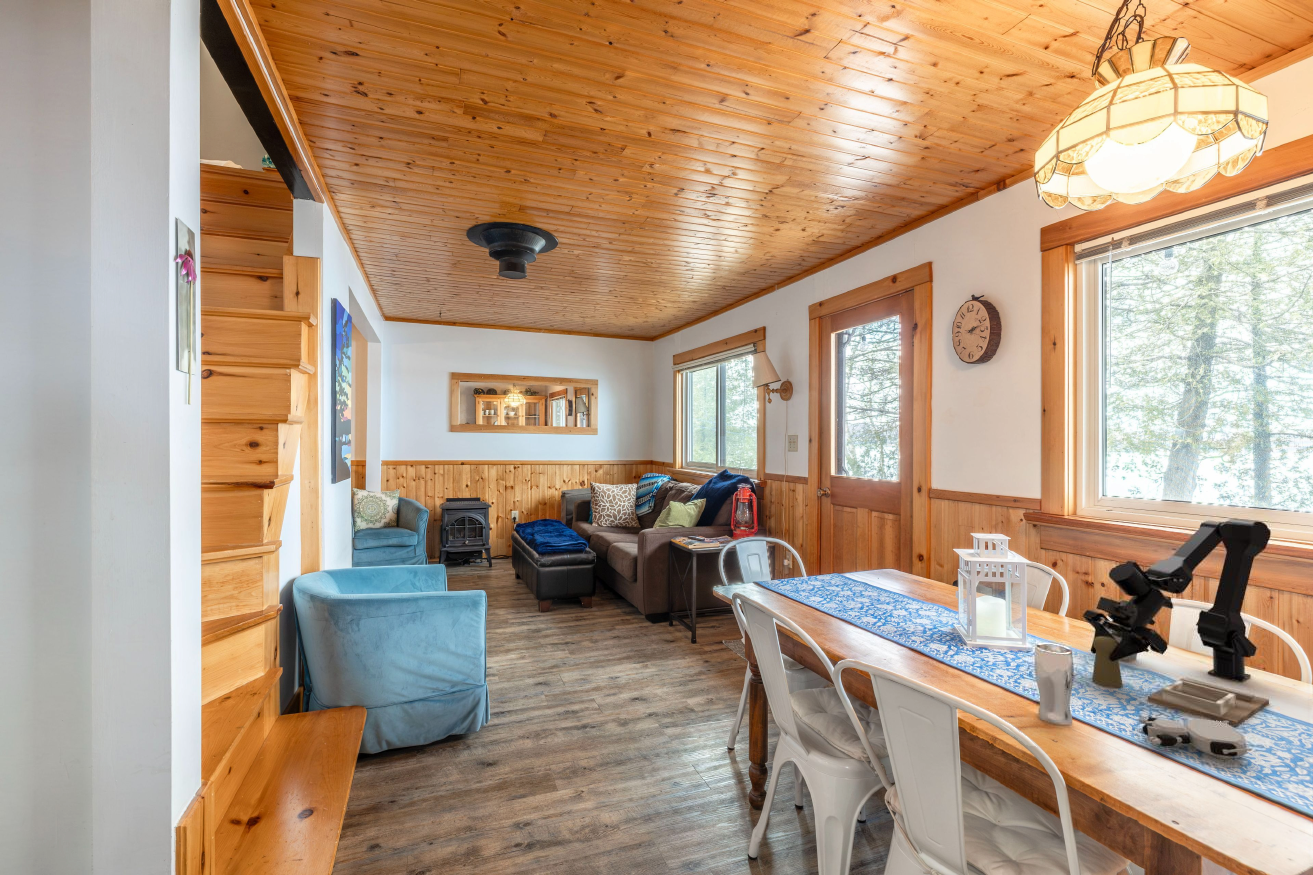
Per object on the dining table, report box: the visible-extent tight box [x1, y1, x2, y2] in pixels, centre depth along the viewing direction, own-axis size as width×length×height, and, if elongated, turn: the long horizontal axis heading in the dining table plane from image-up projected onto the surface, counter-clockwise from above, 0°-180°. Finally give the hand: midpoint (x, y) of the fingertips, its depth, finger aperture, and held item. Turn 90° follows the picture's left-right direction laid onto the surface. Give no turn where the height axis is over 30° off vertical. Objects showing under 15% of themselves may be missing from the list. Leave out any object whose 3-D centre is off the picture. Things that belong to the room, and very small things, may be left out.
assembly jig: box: [1147, 677, 1270, 727], centre depth 134 cm, size 20×15×4 cm
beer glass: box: [1033, 642, 1075, 726], centre depth 128 cm, size 7×7×15 cm
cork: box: [1091, 636, 1124, 689], centre depth 146 cm, size 6×6×11 cm
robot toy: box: [1138, 716, 1253, 760], centre depth 115 cm, size 12×4×15 cm
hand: (1101, 656), depth 146 cm, fingers closed on cork, 5 cm apart
